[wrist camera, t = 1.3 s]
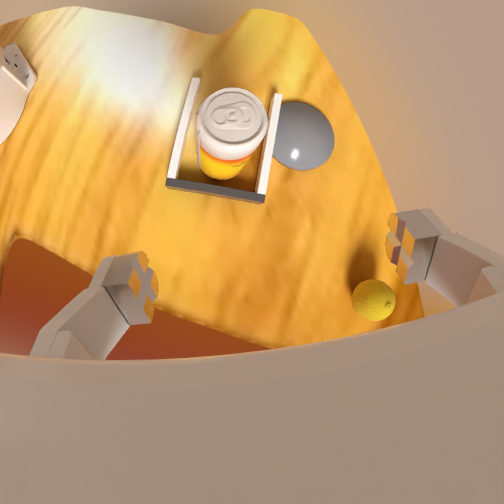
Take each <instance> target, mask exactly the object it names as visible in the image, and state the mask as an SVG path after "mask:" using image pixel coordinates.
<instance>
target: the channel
mask: <svg viewBox="0 0 504 504" xmlns="http://www.w3.org/2000/svg"><path fill="white" fill-rule="evenodd" d="M199 89H200V78H195V77H193V78H192V81H191V85H190V88H189V91H188V95H187V98H186V102H185V105H184V109H183V112H182V116H181V120H180V124H179V128H178V132H177V136H176V140H175V144H174V148H173V152H172V157H171V161H170V166H169V170H168V175H167V180H166V185H165V186H166V187H167V188H168V189H174V190H181V191H187V192H193V193H199V194H205V195H211V196H217V197H223V198H228V199H234V200H239V201H245V202H250V203H255V204H262V203H264V200H265V195H266V189H267V183H268V177H269V171H270V165H271V160H272V154H273V148H274V142H275V136H276V130H277V124H278V118H279V112H280V106H281V101H282V94H278V93H275V94H274V96H273V98H272V99H271V103H270V108H269V114H268V116H269V119H268V128H267V132H266V135H265V138H264V141H263V147H262V152H261V158H260V164H259V169H258V175H257V181H256V186H255V192H249V191H244V190H239V189H233V188H228V187H222V186H217V185H211V184H205V183H199V182H193V181H187V180H181V179H178V174H179V170H180V165H181V160H182V156H183V151H184V147H185V143H186V139H187V134H188V130H189V126H190V122H191V118H192V115H193V111H194V107H195V103H196V100H197V96H198V92H199Z"/></svg>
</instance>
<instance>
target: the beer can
mask: <svg viewBox="0 0 504 504" xmlns="http://www.w3.org/2000/svg"><path fill="white" fill-rule="evenodd" d="M195 123H196V140H197V155H198V163H199V166H200V168H201V170H202V171H203V172H204V173H205V174H206V175H207V176H209V177H210V178H213V179H216V180H228V179H231V178H233V177H235V176H236V175H238V174H239V173H240V172H241V170H242V169H243V168H244V166H245V165H246V163H247V162H248V160H249V159H250V157H251V156H252V154H253V153H254V151H255V150H256V148H257V147H258V145H259V144H260V142H261V141H262V140H263V138H264V136H265V134H266V132H267V128H268V116H267V113H266V110H265V108H264V106H263V104H262V102H261V101H260V100H259V98H258V97H257V96H255V95H254V94H253V93H251V92H249V91H247V90H245V89H242V88H235V87H230V88H223V89H220V90H218V91H216V92H214V93H212V94H211V95H210V96H208V97H207V98H206V99H205V100H204V101H203V102H202V103H201V105H200V106H199V108H198V110H197V113H196V119H195Z"/></svg>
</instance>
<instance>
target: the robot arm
mask: <svg viewBox="0 0 504 504" xmlns="http://www.w3.org/2000/svg"><path fill="white" fill-rule="evenodd" d="M36 80H37V75H36V74H35V72H34V71H33V69H32V68H31V66H30V64H29V63H28V61H27V60H26V58H25V57H24V55H23V53H22V52H21V50H20V48H19V47H18V45H17V44H15V43H12V44H10V45H8V46H6V47H4V48H2V47H0V144H1V143H2V142H3V141H4V140H5V139H6V138H7V137H8V136H9V134H10V133H11V132H12V130H13V129H14V127H15V125H16V124H17V122H18V120H19V118H20V116H21V114H22V111H23V109H24V106H25V103H26V99H27V96H28V94H29V92H30V91H31V89H32V88H33V86H34V84H35V83H36ZM388 226H389V227H390V229H391V230H390V231H389V232H388V234H387V235H386V241H385V247H386V253H387V256H388V258H389V260H390V262H391V263H393V264H395V265H397V269H396V272H397V273H398V275H399V277H400V279H401V280H402V282H403V284H404V285H405V284H410V283H415V282H420V281H425V282H426V283H427V284H429V285H430V286H431V287H433V288H434V289H435V290H437V291H438V292H439V293H441V294H442V295H444V296H445V297H446V298H447V299H449V300H450V301H451V302H452V303H454V304H455V305H456V306H457V307H456V308H453V309H450V310H447V311H444V312H441V313H437V314H434V315H431V316H427V317H424V318H420V319H417V320H413V321H410V322H406V323H402V324H398V325H394V326H390V327H386V328H382V329H378V330H374V331H369V332H365V333H360V334H356V335H351V336H346V337H341V338H336V339H331V340H326V341H321V342H315V343H309V344H304V345H297V346H291V347H285V348H278V349H271V350H264V351H256V352H247V353H239V354H229V355H219V356H207V357H194V358H179V359H159V360H104V359H105V358H106V357H107V355H108V354H109V353H110V351H111V350H112V349H113V347H114V346H115V345H116V343H117V342H118V341H119V339H120V338H121V336H122V335H123V334H124V333H125V332H126V330H127V329H128V328H129V325H135V324H144V323H151V321H152V317H153V312H154V308H155V307H154V305H153V304H152V302H153V301H154V300H155V299H156V298H157V296H158V281H157V277H156V274H155V272H154V271H153V270H152V269H150V268H149V267H148V263H149V259H148V257H147V255H146V253H144V252H143V251H139V252H133V253H126V254H120V255H113V256H108V257H105V258H103V259H102V261H101V263H100V265H99V267H98V269H97V271H96V273H95V275H94V277H93V279H92V281H91V283H90V285H89V288H88V289H84V290H83V291H82V292H81V293H80V294H79V295H77V296H76V297H75V298H74V299H73V300H72V301H71V302H70V303H69V304H67V305H66V306H65V307H64V308H63V309H62V310H61V311H60V312H59V313H58V314H57V315H56V316H55V317H54V318H52V319H51V320H50V321H49V322H48V323H47V324H46V325H45V326H44V327H43V328H42V329H41V330H40V332H39V334H38V336H37V339H36V341H35V343H34V346H33V348H32V351H31V353H30V356H24V355H15V354H6V353H0V504H504V257H503V256H501V255H500V254H498V253H496V252H494V251H492V250H490V249H488V248H486V247H484V246H482V245H480V244H478V243H476V242H474V241H472V240H470V239H468V238H466V237H464V236H462V235H460V234H457V233H452V232H451V231H450V229H449V228H448V227H447V226H446V225H445V224H444V223H443V222H442V221H441V220H440V219H439V217H438V216H437V215H436V214H435V213H434V212H433V211H432V210H431V209H429V208H423V209H417V210H412V211H406V212H399V213H392V214H390V216H389V218H388Z"/></svg>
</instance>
